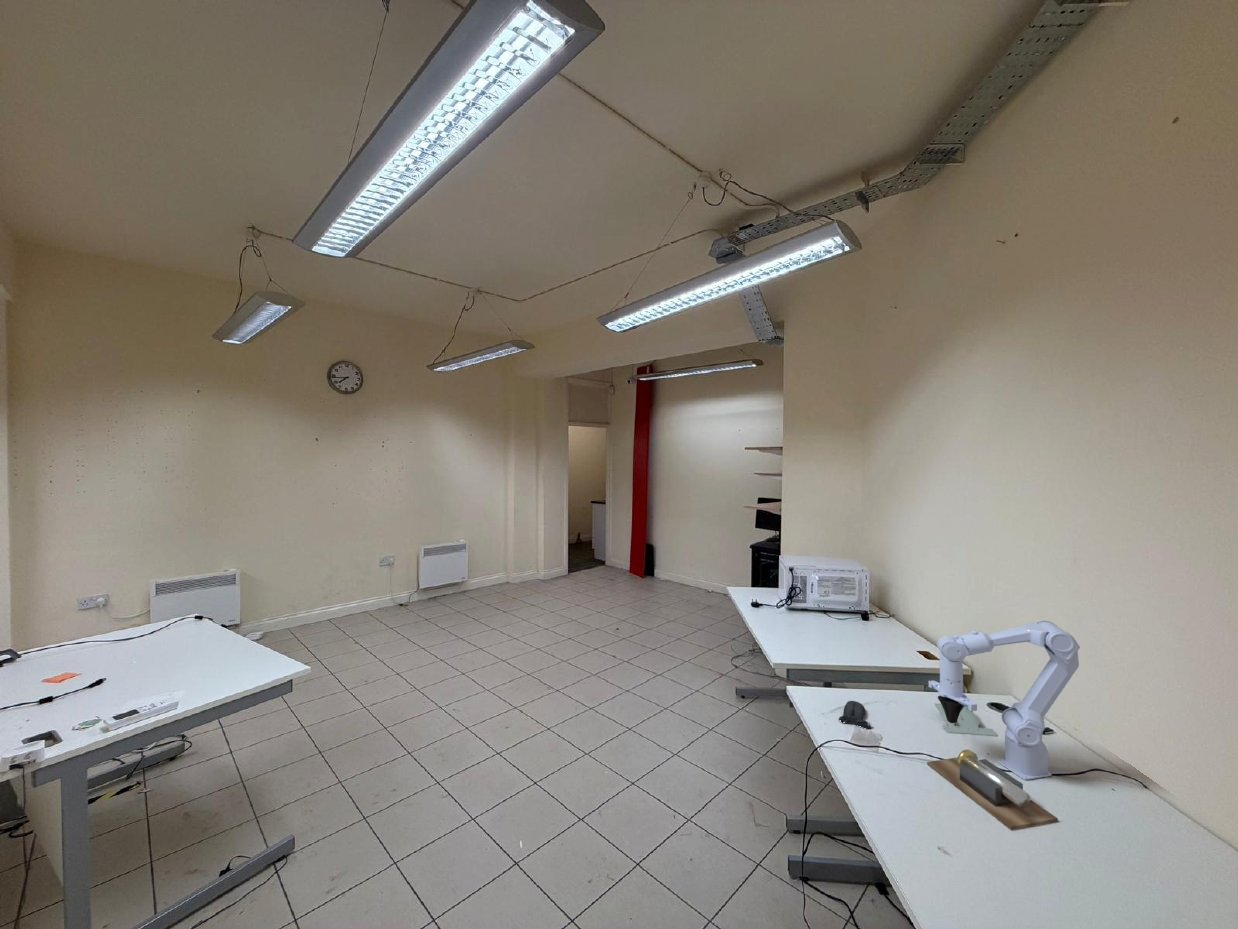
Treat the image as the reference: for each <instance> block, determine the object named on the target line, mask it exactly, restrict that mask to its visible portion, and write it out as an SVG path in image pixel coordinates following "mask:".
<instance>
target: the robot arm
mask: <svg viewBox="0 0 1238 929" xmlns="http://www.w3.org/2000/svg"><path fill="white" fill-rule="evenodd" d="M1021 643H1030V644H1033V645H1036V646H1037V647H1038V646H1039V647H1041V648H1044V649H1045V650H1046V653H1047V654H1048V656H1049V660H1048V661H1047V663H1046V664H1045V666H1043V669H1042V670H1041V672H1040V673H1039V675H1038V676H1037V677H1036V679H1035V680H1034V682H1033V683H1032V685H1031V687H1030V688H1029V689H1028V691H1027V693H1025V695H1024V697H1023V698H1022V700H1021V701H1019V702H1014V703H1013V704H1012V705H1011V706H1010V707H1009V708H1006V709H1004V710H1003V712H1002V713H1001V720H1002V722H1003V724H1004V725H1005V726H1006V728H1005V731H1004V748H1005V749H1004V752H1005V753H1004V755H1005V756H1004V758H1002V759H997V760H996V761H997V763H998V764H1000V765H1001V766H1003V767H1005V768H1006V769H1008V770H1009V771H1011V772H1012V773H1014V774H1015V775H1017V776H1018V777H1020V778H1021V779H1023V780H1025V781H1028V780H1033V779H1039V778H1040V779H1041V778H1044V777H1045V778H1046V777H1047V778H1048V777H1052V776H1053V774H1052V773H1051V772H1049V750H1048V749H1047V746H1046V744H1045V743H1044V741H1043V732H1044V730H1045V729H1046V728H1045V727H1046V725H1045V716H1046V715H1047V713H1048V712H1049V710H1050V709H1051V708H1052V706H1053V705H1054V703H1055V701H1057V699H1058V697H1059V696H1060V694H1061V693H1062V691H1064V688H1066V686H1067V684H1068V683H1069V682H1070V680H1071V678H1072V677H1073V675H1074V674H1075V673H1076V671H1077V670H1078V669H1079V660H1080V659H1079V649H1080V647H1081V646H1080V645H1079V643H1078V642H1077V640H1076V638H1075V637H1074V636H1073V635H1072V634H1070V633H1069V632H1067V631H1065V630H1064V629H1062V628H1060V627H1059V626H1058V625H1057V624H1055V623H1054V622H1052V621H1049V620H1038V621H1029V622H1027V623H1025V624H1023V625H1020V626H1017V627H1012V628H1008V629H1004V630H1001V631H996V632H992V633H989V634H988V633H985V632H983V631H977V630H971V631H970V633H966V634H961V635H958V634H955V635H953V636H950V635H945V636H941V637H940V638H939V639H938V640H937V642H936V647H937V648H938V650H939V682H938V681H935V680H934V679H933V680H928V688H930V689H933V690H936V691H937V694H938V696H937V699H938V701H939V702H940V704H942V706H943V709H944V711H945V714H946V718H947V721H948V722H950V723H957V720H958V717H959V714H960V712H961V710H962V709H963V708H964V706H965V707H967V708H968V710H970V711H973V712H976V711H978V704H977V703H976V702H974V701H973V700H971V698H969V697H968V696H967V695H966V694H965V693H964V669H963V668H964V666H963V660H964V659H965V658H966V657H970V656H974V655H981V654H984V653H990V652H992V651H993V650H994V648H995V647H998V646H1000V647H1001V646H1005V645H1006V646H1007V645H1012V644H1021Z"/></svg>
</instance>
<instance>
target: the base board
mask: <svg viewBox="0 0 1238 929" xmlns="http://www.w3.org/2000/svg"><path fill="white" fill-rule="evenodd" d="M957 758H958V756H957V757H951V758H943V759H939V760H937V759H936V760H931V761H927V762H926V765H927V766H928V767H929V768H931V770H933V771H935V773H936V774H938V775H940V776H941V777H942V778H943V779H945V780H947V781H948V782H949V783H950V784H952V785H953V786H954V787H955V788H956V789H958V790H959V791H961V793H962V794H964V795H965V796H967V797H968V798H969V799H971V800H972V801H973V802H975V804H977V805H978V806H979V807H981V809H984V810H985V811H986V812H987V813H988V814H990V815H991V816H992V817H994V818H995V819H996V820H998V821H999V822H1000V823H1001V824H1002V825H1004V826H1005V827H1006V828H1008V829H1009V830H1010V831H1014V830H1019V829H1026V828H1030V827H1034V826H1040V825H1047V824H1052V823H1056V822H1057V823H1058V821H1059V819H1058V817H1056V815H1054V814H1052V813H1051V812H1050V811H1048V810H1046V809H1045V808H1044V807H1042V806H1040V805H1039V804H1037V803H1036V802H1035V801H1034V800H1032V799H1030V804H1029V805H1028V806H1027V807H1026V808H1020V807H1019V806H1017V805H1016V804H1015V803H1013V804H1008V805H1002V806H996V807H995V806H994V805H993V804H991V803H990V802H989V801H987V800H986V799H985V798H983V797H982V796H981V795H980V794H978V793H977V792H976V791H974V790H973V789H972V788H970V787H969V786H968V785H966V784H965V783H964V782H962V781H961V780H960V768H959V766H958V764H957Z"/></svg>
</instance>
